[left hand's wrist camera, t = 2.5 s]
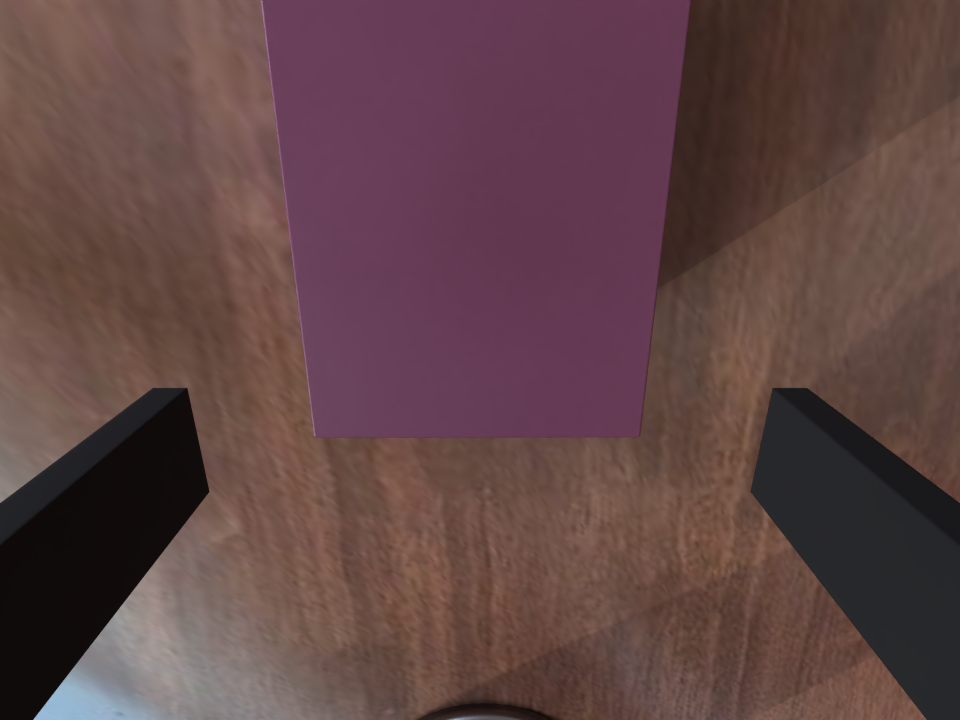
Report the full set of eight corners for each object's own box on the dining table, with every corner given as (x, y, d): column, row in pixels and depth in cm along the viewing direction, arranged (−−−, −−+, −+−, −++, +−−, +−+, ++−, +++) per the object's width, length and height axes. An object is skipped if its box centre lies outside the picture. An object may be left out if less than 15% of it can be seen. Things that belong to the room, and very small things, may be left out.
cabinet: (337, -106, 23) (221, -313, 13) (616, -105, 23) (729, -313, 13) (370, 338, 30) (313, 439, 20) (584, 337, 30) (640, 438, 20)
